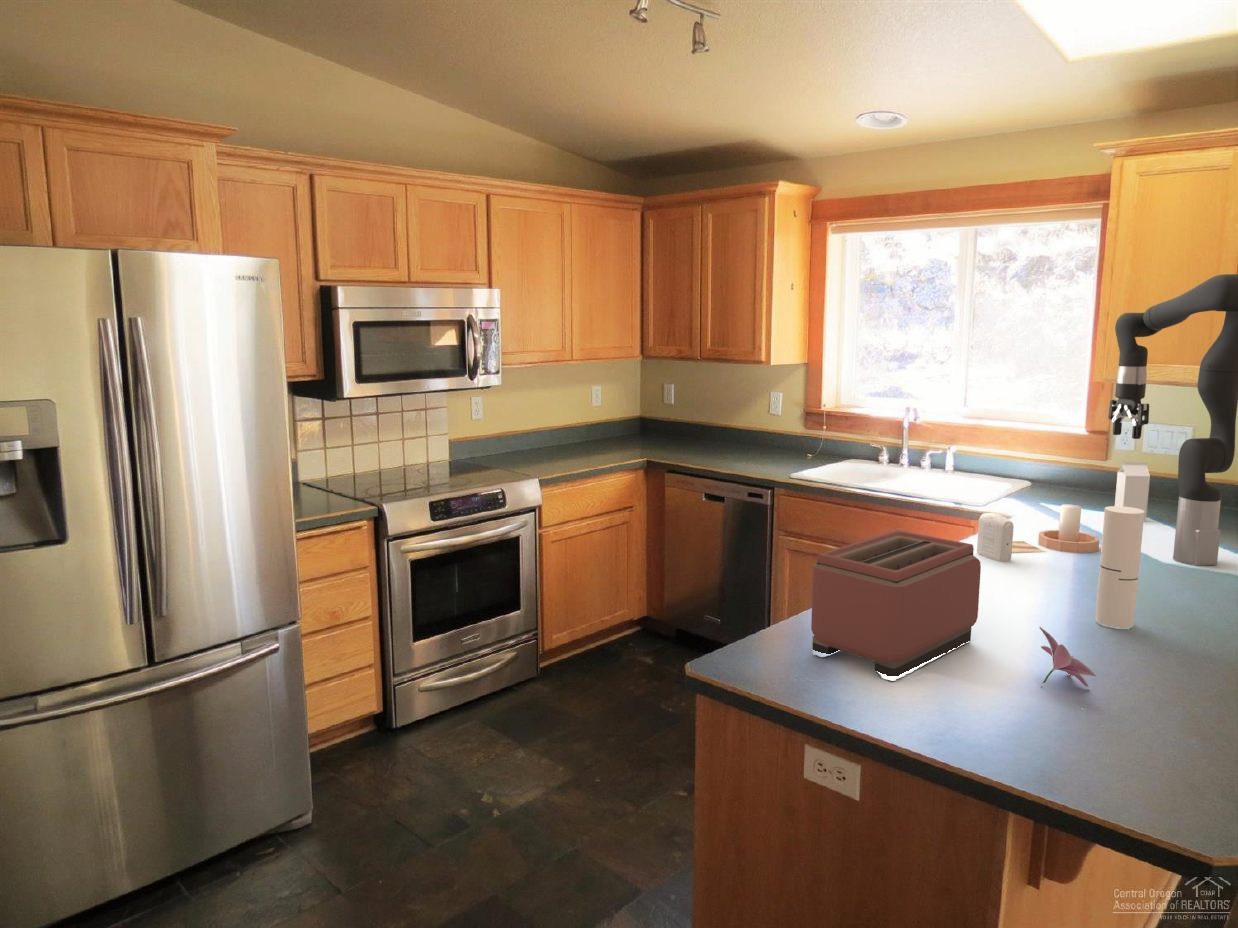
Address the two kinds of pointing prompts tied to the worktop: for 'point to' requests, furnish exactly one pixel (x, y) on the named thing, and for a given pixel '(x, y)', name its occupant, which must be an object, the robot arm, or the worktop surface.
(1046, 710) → the worktop surface
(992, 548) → the photo printer
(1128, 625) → the cylindrical container
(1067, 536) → the pillar candle
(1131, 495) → the milk carton
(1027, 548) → the cork mat
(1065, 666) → the lily
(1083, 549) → the bowl
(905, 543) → the toaster
